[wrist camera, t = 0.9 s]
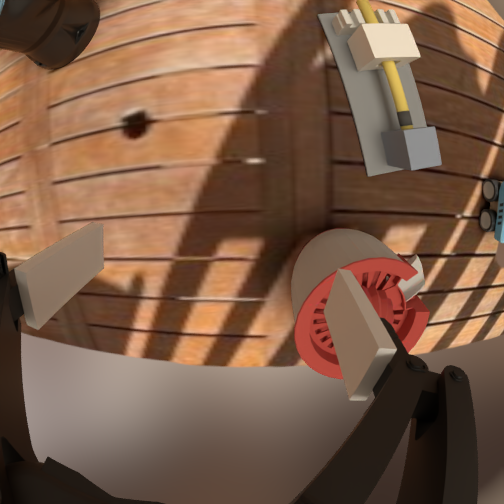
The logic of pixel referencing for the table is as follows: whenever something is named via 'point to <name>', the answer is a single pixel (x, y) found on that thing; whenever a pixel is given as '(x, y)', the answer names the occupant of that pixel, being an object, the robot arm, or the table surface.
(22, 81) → the table surface
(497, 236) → the toy excavator
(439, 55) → the table surface
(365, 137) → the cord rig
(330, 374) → the citrus juicer
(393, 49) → the sleeve
